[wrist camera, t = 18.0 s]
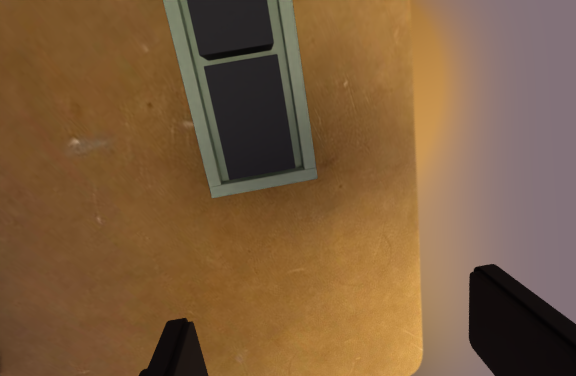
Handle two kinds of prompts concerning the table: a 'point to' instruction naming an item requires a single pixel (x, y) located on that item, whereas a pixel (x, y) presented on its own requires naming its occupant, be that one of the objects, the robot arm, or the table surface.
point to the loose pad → (251, 116)
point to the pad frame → (203, 108)
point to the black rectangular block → (230, 27)
